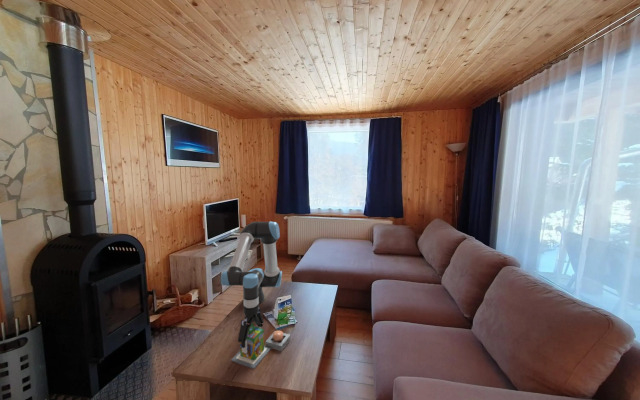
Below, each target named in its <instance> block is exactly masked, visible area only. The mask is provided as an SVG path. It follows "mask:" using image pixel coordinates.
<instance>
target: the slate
mask: <svg viewBox="0 0 640 400" xmlns="http://www.w3.org/2000/svg"><path fill="white" fill-rule="evenodd" d="M271 350H272V348H271V347H268V346H266V344H264V350H263V351H262V352H261V353H260V355H259V356H258V357H257V358H256V359H255V360H252V359H249V358H246V357H243V356H240V350H239V351H238V352H237V353H236V354H235V355H234V356H233V357H232V358H231V359H230V361H231V362H233V363H236V364H238V365H241V366H245V367H247V368H250V369H253V370H255V369H256V368H257V367H258V366H259V364H260V363H261V362H262V361H263V360H264V359H265V357H266V356H267V355H268V353H270V352H271Z"/></svg>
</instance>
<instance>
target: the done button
mask: <svg viewBox="0 0 640 400" xmlns="http://www.w3.org/2000/svg"><path fill="white" fill-rule="evenodd" d="M283 333H284V332H283V331H282V330H275V331H273V333H272V334H273V340H274V341H275V342H282V339H283Z"/></svg>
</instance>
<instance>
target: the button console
mask: <svg viewBox="0 0 640 400" xmlns="http://www.w3.org/2000/svg"><path fill="white" fill-rule="evenodd" d="M290 341H291V334H289V333H285V332H283V339H282V340H281V341H280V342H279V341H274V340H273V333H271V334H270V335H269V337H268V338H267V339H266V340H265V346H268V347H271V350H272V349H274V350H276V351H278V352H279V351H280V352H283V350H284V349H285V347H286V346H287V345H288V344H289V342H290Z"/></svg>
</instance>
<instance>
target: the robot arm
mask: <svg viewBox="0 0 640 400" xmlns="http://www.w3.org/2000/svg"><path fill="white" fill-rule="evenodd" d="M280 231H281V230H280V226H279V223H277V222H276V221H251V222H250V223H248V224H247V225H246V226H244V227H243V228H242V230H241V232H240V233H239V236H238V243H237V246H236V249H235V251H234V253H233V257H232V259H231V262H230V265H229V267H228V269H227V270H226V271H223V272H222V273H221V274H220V275H221V276H220V284H221V285H222V286H226V287H230V286H234V287H235V286H236V287H238V286H239V287H240V286H242V292H243V293H242V297H243V314H244V319H242V320H240V327H239V333H238V338H237V342H238V343H240V342H241V347H242V352H243V353H247V340H246V338H247V335H248V331H249V328H250V327H251V324H252V323H253V324H254V323H255V325H256V326H255V327H258V328H261V329H262V327H264V321H265V320H264V318H263V314H262V308H260V305H259V304H261V303H263V302H264V301H265V297H266V296H265V293H264V290H263V288H279V287H281V284H282V279H283V277H282V276H283V271H282V270H280V268H279V267H278V258H277V244H276V243H277V242H278V240H279V239H280V237H281V233H280ZM254 240H260V243H261V244H263V247H262V248H263V256H264V257H263V258H264V266H265V269H262V268H259V267H256V268H251V269H250V270H248V271H243V269H244V267H245V263H246V260H247V257H248V254H249V250H250V248H251V244H252V243H253V242H254Z"/></svg>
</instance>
